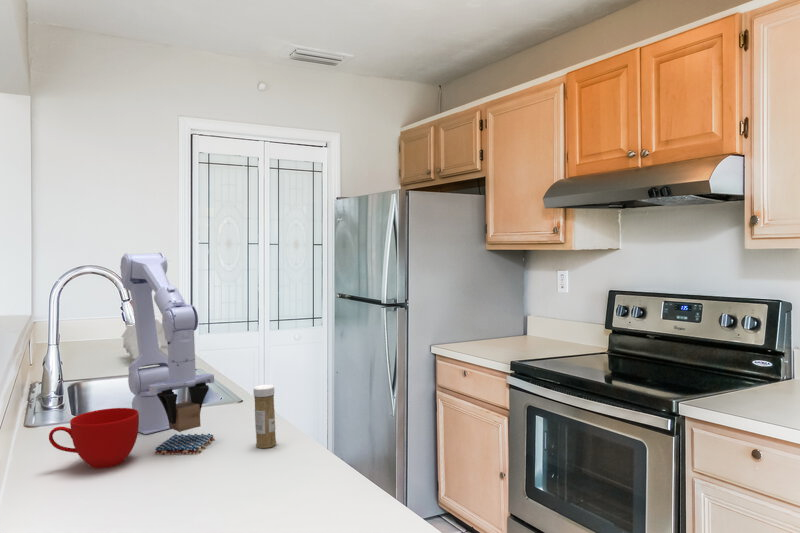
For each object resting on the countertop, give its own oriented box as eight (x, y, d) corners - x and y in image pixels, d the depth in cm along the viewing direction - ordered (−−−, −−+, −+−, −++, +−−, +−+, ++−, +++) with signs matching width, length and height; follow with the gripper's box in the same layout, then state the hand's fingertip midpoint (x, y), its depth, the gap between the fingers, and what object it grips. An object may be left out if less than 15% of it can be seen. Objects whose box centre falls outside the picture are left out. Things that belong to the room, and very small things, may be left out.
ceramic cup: (54, 461, 128) (52, 415, 128) (140, 448, 135) (138, 404, 135) (45, 482, 116) (43, 431, 116) (140, 467, 123) (138, 419, 123)
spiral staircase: (144, 377, 234) (132, 364, 255) (185, 353, 242) (171, 342, 263) (120, 337, 228) (110, 328, 249) (164, 314, 236) (151, 306, 257)
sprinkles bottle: (279, 446, 134) (277, 386, 134) (259, 450, 131) (257, 389, 131) (271, 440, 138) (269, 382, 137) (252, 445, 135) (250, 386, 135)
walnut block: (169, 427, 135) (168, 405, 135) (190, 422, 139) (189, 400, 139) (179, 431, 132) (178, 409, 131) (200, 426, 135) (199, 404, 135)
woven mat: (152, 457, 130) (151, 448, 130) (173, 442, 141) (172, 433, 141) (199, 457, 130) (198, 447, 130) (216, 441, 140) (216, 432, 140)
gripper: (158, 367, 127) (161, 431, 127) (220, 356, 137) (222, 415, 138) (143, 363, 132) (146, 425, 132) (204, 353, 142) (206, 410, 143)
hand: (184, 419), depth 135 cm, fingers closed on walnut block, 5 cm apart
